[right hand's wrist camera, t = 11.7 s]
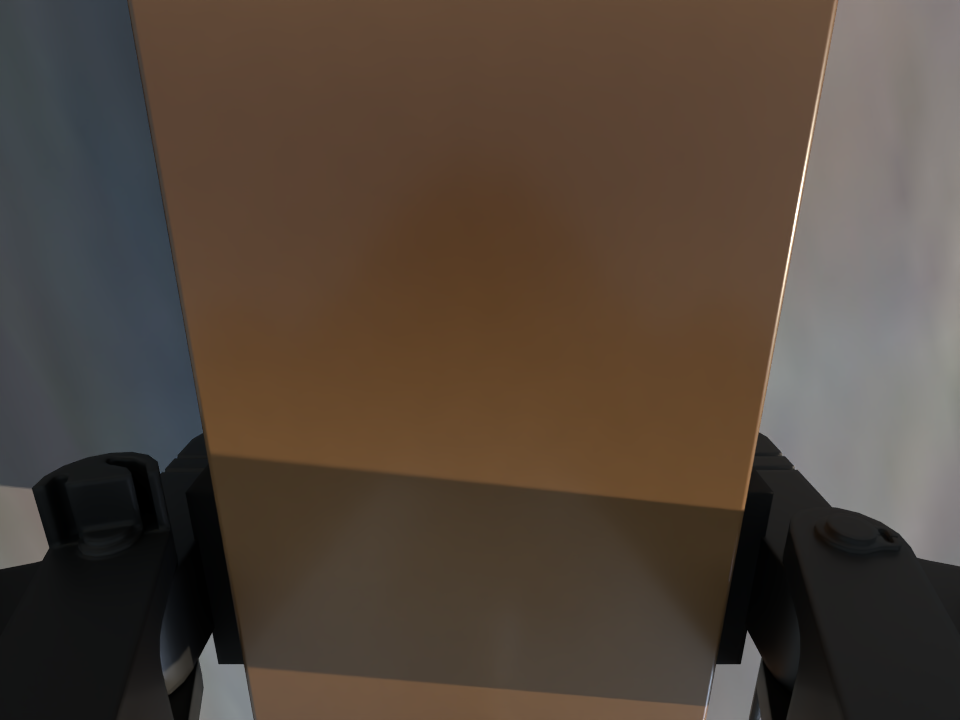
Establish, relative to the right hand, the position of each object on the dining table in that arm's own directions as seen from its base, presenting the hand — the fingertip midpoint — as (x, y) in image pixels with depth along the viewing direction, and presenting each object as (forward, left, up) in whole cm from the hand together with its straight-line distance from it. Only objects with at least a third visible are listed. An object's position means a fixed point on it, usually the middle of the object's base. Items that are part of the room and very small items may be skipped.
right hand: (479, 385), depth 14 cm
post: (+11, +20, -1) cm, 23 cm away
